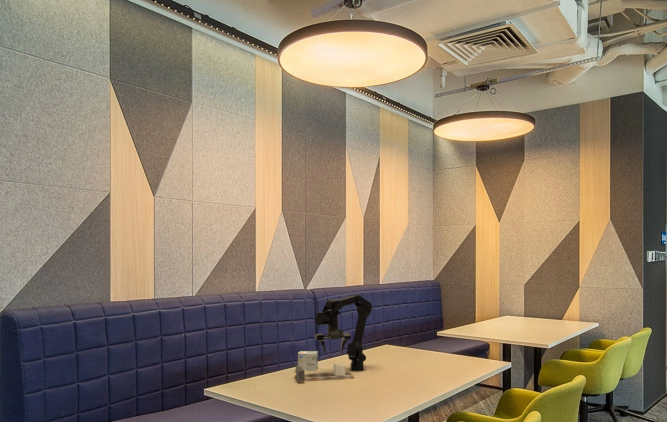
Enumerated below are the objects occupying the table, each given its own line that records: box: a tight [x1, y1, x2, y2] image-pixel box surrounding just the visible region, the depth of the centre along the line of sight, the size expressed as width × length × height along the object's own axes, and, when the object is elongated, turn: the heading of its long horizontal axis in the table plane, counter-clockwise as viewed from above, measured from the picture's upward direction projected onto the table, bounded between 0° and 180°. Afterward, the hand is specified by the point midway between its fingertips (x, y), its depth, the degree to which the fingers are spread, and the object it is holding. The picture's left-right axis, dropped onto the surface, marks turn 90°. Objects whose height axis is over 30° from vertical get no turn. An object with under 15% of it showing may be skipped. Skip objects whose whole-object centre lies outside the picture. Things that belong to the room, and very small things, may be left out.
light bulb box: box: [297, 350, 319, 372], centre depth 292 cm, size 11×7×11 cm, turn 84°
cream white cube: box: [333, 362, 346, 376], centre depth 276 cm, size 5×6×6 cm
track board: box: [294, 365, 355, 385], centre depth 275 cm, size 30×14×6 cm, turn 101°
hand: (333, 352), depth 279 cm, fingers open, 9 cm apart
